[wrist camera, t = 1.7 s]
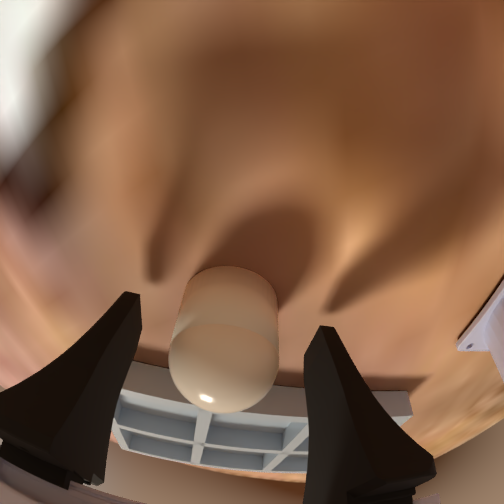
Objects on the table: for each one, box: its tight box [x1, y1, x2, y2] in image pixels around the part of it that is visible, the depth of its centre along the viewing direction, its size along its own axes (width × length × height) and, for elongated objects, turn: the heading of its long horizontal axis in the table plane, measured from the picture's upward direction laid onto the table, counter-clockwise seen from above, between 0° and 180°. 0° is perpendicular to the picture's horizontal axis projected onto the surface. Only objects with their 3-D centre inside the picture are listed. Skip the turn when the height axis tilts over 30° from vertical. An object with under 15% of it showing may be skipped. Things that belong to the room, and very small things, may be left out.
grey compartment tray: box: [111, 361, 413, 473], centre depth 20 cm, size 20×14×2 cm
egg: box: [168, 266, 279, 413], centre depth 11 cm, size 4×4×5 cm
